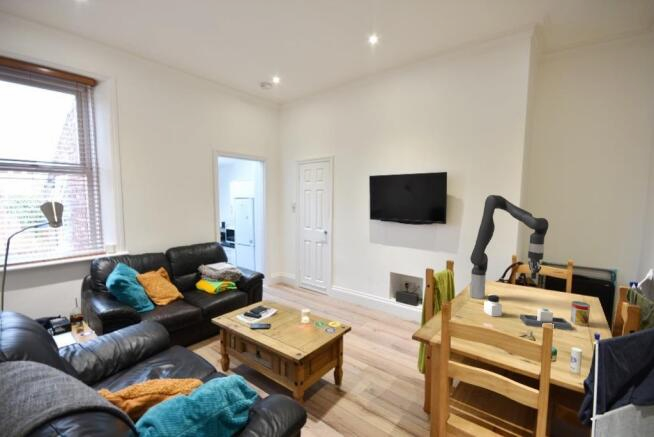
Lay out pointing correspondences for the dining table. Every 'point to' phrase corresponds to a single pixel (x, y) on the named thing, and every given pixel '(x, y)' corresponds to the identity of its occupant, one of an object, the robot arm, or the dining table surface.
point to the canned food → (580, 313)
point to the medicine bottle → (493, 306)
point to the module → (544, 315)
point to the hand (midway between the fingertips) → (533, 278)
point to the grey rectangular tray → (558, 322)
